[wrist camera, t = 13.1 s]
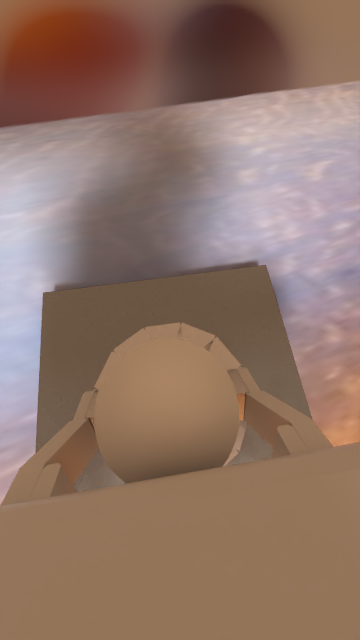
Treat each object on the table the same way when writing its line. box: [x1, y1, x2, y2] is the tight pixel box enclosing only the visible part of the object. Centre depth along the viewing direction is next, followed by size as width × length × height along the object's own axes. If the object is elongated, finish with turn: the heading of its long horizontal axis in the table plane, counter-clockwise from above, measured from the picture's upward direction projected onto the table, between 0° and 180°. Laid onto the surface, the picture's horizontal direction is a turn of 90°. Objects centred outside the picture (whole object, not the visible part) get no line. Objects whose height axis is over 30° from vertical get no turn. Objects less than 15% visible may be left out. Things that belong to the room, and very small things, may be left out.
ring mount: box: [36, 265, 312, 492], centre depth 15 cm, size 20×20×4 cm
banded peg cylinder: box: [94, 338, 239, 484], centre depth 11 cm, size 5×5×8 cm
